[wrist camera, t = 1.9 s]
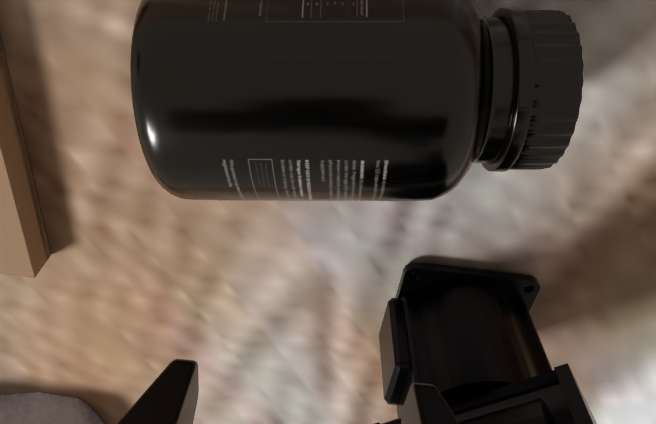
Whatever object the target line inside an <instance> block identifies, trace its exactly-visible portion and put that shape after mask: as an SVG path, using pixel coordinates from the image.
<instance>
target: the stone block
mask: <svg viewBox="0 0 656 424" xmlns="http://www.w3.org/2000/svg"><path fill="white" fill-rule="evenodd" d="M0 424H104V423H103V421H102V420H101V419H100V418H99V417H98V415H97V414H96V413H95V412H94V411H93V410H92V409H91V408H90V407H89V406H88V405H87V404H86V403H85V402H83V401H82V400H80V399H78V398H74V397H68V396H60V395H54V394H50V393H42V392H35V393H15V394H11V395H3V394H0Z"/></svg>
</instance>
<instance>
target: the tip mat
mask: <svg viewBox="0 0 656 424" xmlns="http://www.w3.org/2000/svg"><path fill="white" fill-rule="evenodd" d="M50 256H51V254H50V250H49V245H48V241H47V236H46V232H45V228H44V223H43V219H42V215H41V210H40V206H39V202H38V197H37V193H36V189H35V184H34V180H33V176H32V171H31V167H30V163H29V158H28V154H27V150H26V145H25V141H24V137H23V132H22V128H21V124H20V119H19V115H18V111H17V106H16V102H15V98H14V93H13V89H12V85H11V80H10V76H9V71H8V67H7V63H6V58H5V54H4V50H3V45H2V41H1V37H0V274H3V275H12V276H22V277H31V278H35V277H36V275H37V274H38V272H39V271H40V270H41V268H42V267H43V265H44V264H45V263H46V261H47V260H48V259H49V257H50Z"/></svg>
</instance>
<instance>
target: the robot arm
mask: <svg viewBox="0 0 656 424" xmlns="http://www.w3.org/2000/svg"><path fill="white" fill-rule="evenodd" d="M413 272H417V274H414V275H412V274H411V273H413ZM527 285H530V286H528V287H525V286H527ZM539 289H540V286H539V283H538V281H537V279H536V278H535V277H534V276H530V275H522V274H513V273H504V272H495V271H487V270H478V269H469V268H460V267H451V266H442V265H434V264H425V263H410V264H408V265H406V266H405V268H404V269H403V273H402V276H401V280H400V284H399V287H398V291H397V294H396V298H392V299H391V300H389V301H388V304H387V307H386V311H385V315H384V319H383V322H382V326H381V330H380V333H379V339H380V352H381V365H382V378H383V391H384V399H385V400H386V402H387V403H388V404H392V405H397V414H398V419H395V420H392V421H389V422H385V423H382V424H597V423H596V421H595V419H594V417H593V415H592V413H591V411H590V409H589V407H588V404H587V402H586V400H585V398H584V396H583V394H582V392H581V390H580V388H579V386H578V384H577V382H576V380H575V377H574V375H573V373H572V371H571V369H570V367H569V365H568V363H567V364H564V365H561V366H558V367H555V368H554V369H555V370H552V368H551V365H550V363H549V360H548V358H547V356H546V353H545V351H544V348H543V346H542V343H541V341H540V338H539V336H538V333H537V331H536V328H535V326H534V324H533V321H532V319H531V316H530V314H529V310H530V308H531V306H532V304H533V302H534V300H535V298H536V296H537V294H538V292H539ZM198 390H199V386H198V364H197V362H196V361H193V360H183V359H175V360H173V361H172V362H171V363H170V364H169V365H168V366H167V367H166V369H165V370H164V371H163V372H162V373H161V374H160V375H159V377H158V378H157V379H156V380H155V381H154V382H153V383H152V385H151V386H150V387H149V388H148V389H147V390H146V391H145V393H144V394H143V395H142V396H141V397H140V398H139V399H138V401H137V402H136V403H135V404H134V405H133V406H132V407H131V409H130V410H129V411H128V412H127V413H126V414H125V415H124V417H123V418H122V419H121V420H120V421H119V422H118V423H117V424H193V420H194V415H195V410H196V405H197V400H198ZM375 424H380V423H379V422H378V423H375Z"/></svg>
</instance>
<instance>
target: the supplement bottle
mask: <svg viewBox="0 0 656 424" xmlns="http://www.w3.org/2000/svg"><path fill="white" fill-rule="evenodd" d="M582 86H583V60H582V47H581V44H580V38H579V34H578V32H577V31H576V26H575V23H574V22H572V20H571V17H570V16H568V15H566V14H565V12H562V11H554V10H520V9H518V8H500V9H498V10H496V11H495V12H494V13H493V15H492V16H491V17H482V16H481V14H480V12H479V10H478V8H477V6H476V4H475V2H474V0H142V1H141V3H140V6H139V8H138V12H137V15H136V19H135V24H134V29H133V36H132V45H131V91H132V102H133V109H134V116H135V122H136V127H137V132H138V136H139V140H140V144H141V147H142V150H143V153H144V156H145V159H146V161H147V164H148V166H149V168H150V170H151V172H152V174H153V176H154V177H155V179H156V180H157V182H158V183H159V184H160V185H161V186H162V187H163V188H164V189H165V190H166V191H168V192H169V193H170V194H172V195H174V196H176V197H179V198H183V199H191V200H279V201H425V200H433V199H436V198H438V197H441V196H443V195H445V194H446V193H448V192H450V191H451V190H452V189H453V188H455V187H456V186H457V185H458V184H459V183H460V182H461V180H462V179H463V178H464V176H465V175H466V173H467V172H468V170H469V169H470V167H471V166H472V164H473V163H481V164H482V165H483V167H484V168H485V169H486V170H488V171H496V172H503V171H507V170H509V169H544V168H550V167H551V166H552V165H553V164H554V163H557V162H558V160H559V158H560V157H562V156H563V154H564V152H565V149H566V148H567V147H568V145H569V142H570V139H571V136H572V135H573V133H574V130H575V124H576V121H577V119H578V116H579V107H580V104H581V100H582Z"/></svg>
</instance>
